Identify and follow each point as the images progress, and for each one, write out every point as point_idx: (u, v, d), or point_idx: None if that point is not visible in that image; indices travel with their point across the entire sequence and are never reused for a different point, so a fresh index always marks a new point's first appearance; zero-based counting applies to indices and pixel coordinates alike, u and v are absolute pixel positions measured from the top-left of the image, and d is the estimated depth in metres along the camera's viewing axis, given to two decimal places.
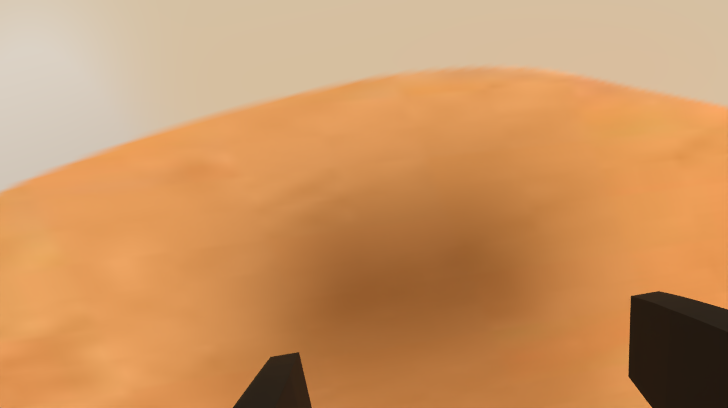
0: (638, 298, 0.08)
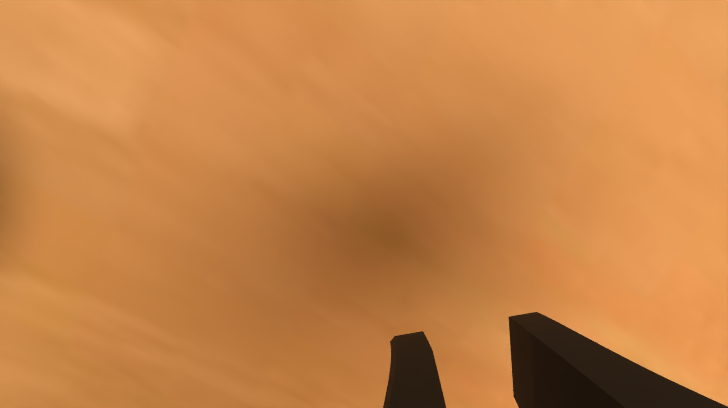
0: (513, 318, 0.08)
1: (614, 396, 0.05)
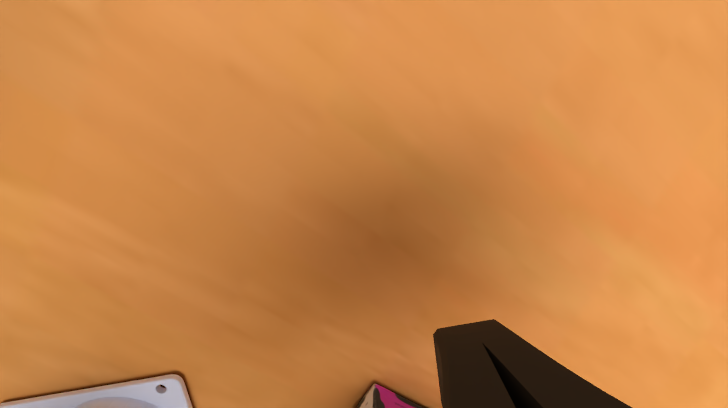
0: (468, 326, 0.08)
1: (547, 407, 0.05)
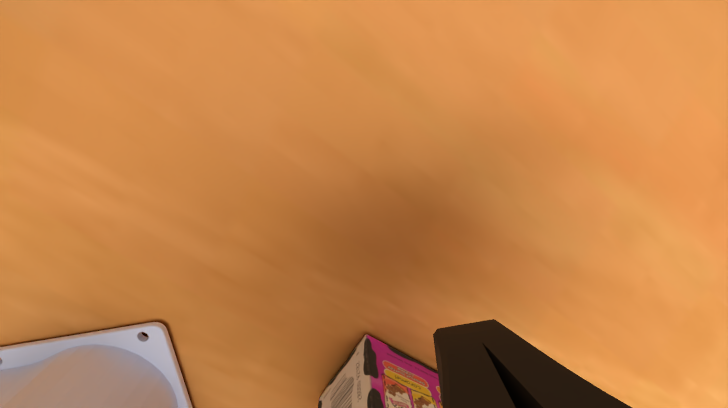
0: (469, 326, 0.08)
1: (547, 407, 0.05)
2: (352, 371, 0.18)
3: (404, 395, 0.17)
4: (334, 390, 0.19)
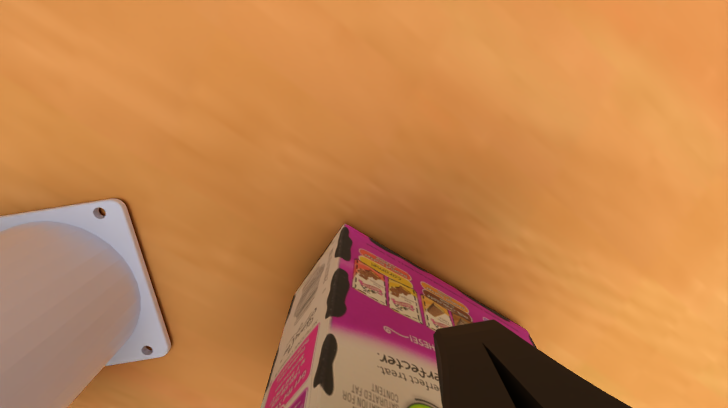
0: (468, 326, 0.08)
1: None
2: (325, 259, 0.16)
3: (379, 281, 0.15)
4: (307, 281, 0.17)
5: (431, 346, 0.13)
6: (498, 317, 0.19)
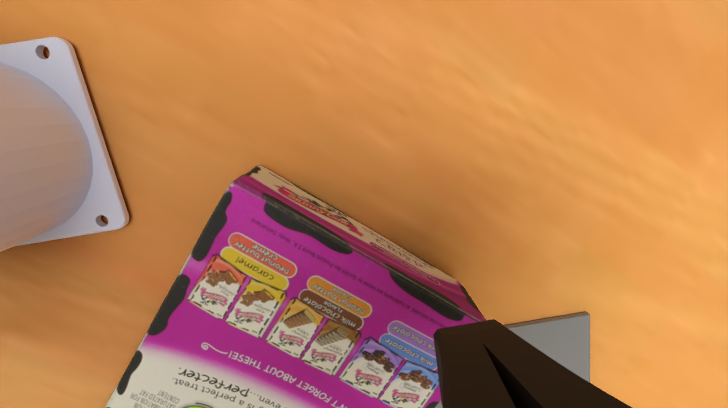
0: (469, 326, 0.08)
1: (547, 407, 0.05)
2: None
3: (232, 286, 0.14)
4: None
5: (252, 362, 0.14)
6: (439, 315, 0.14)
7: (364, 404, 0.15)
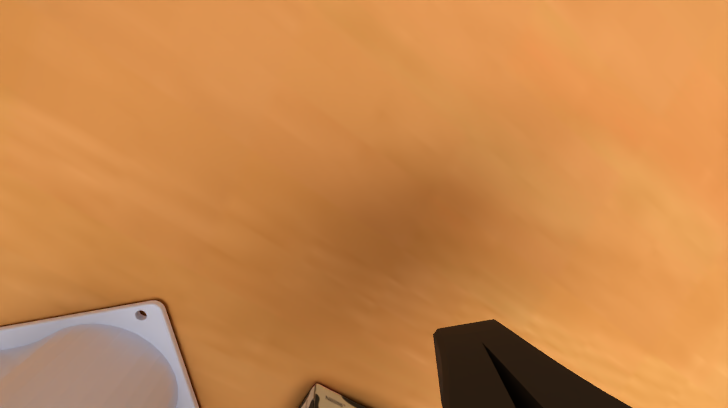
0: (468, 326, 0.08)
1: None
2: None
3: None
4: None
5: None
6: None
7: None
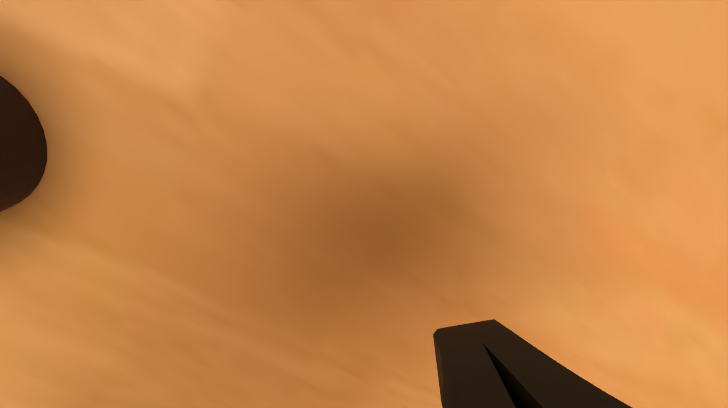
0: (469, 327, 0.08)
1: None
2: None
3: None
4: None
5: None
6: None
7: None
